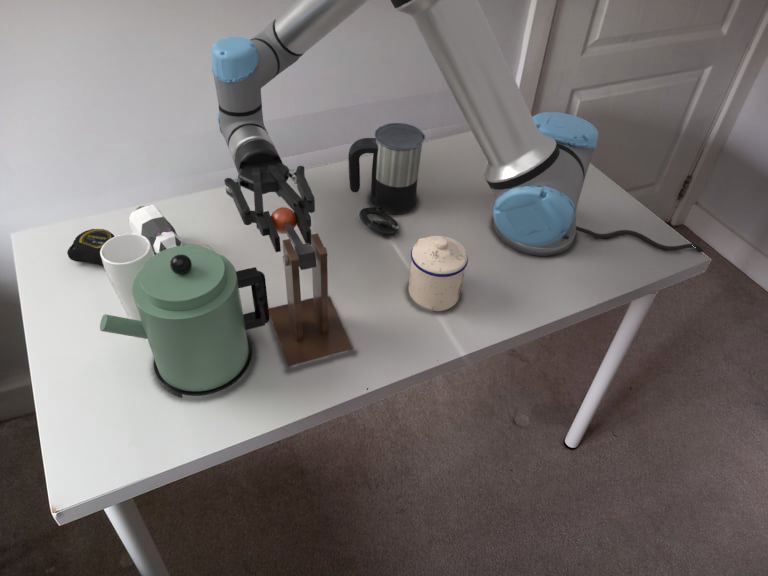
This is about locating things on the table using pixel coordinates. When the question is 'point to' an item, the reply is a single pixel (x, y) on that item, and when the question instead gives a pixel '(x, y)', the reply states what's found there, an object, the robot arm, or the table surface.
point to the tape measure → (89, 246)
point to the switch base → (307, 312)
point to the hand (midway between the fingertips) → (293, 241)
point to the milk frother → (388, 173)
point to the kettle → (194, 318)
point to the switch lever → (294, 236)
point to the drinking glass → (125, 266)
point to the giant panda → (154, 228)
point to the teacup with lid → (437, 272)
